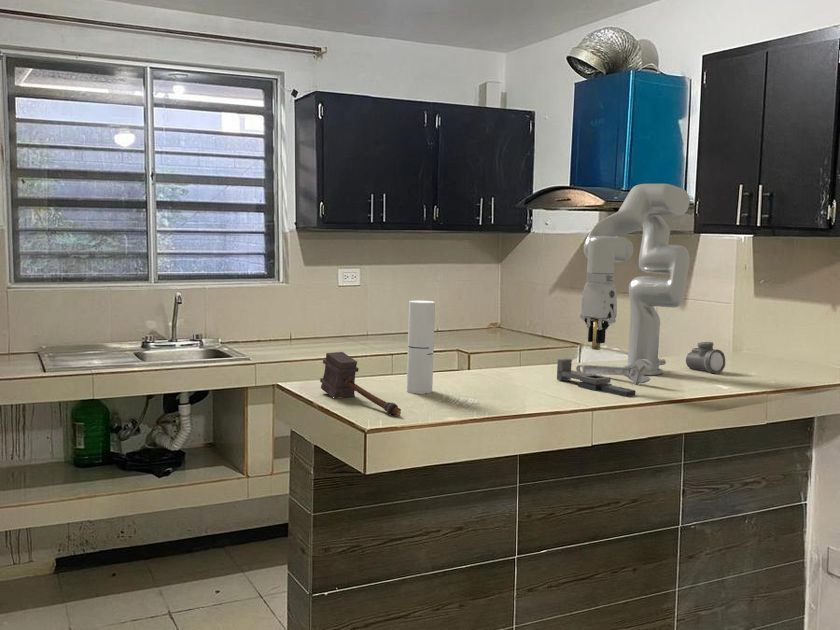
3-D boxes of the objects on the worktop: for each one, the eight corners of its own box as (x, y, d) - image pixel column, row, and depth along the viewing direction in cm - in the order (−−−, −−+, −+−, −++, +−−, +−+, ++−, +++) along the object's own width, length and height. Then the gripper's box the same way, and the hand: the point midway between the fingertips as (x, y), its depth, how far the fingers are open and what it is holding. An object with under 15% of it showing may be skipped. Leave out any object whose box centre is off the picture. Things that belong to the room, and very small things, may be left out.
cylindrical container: (402, 389, 225) (405, 300, 222) (426, 388, 228) (428, 300, 225) (412, 394, 218) (415, 303, 216) (436, 393, 221) (439, 302, 218)
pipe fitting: (728, 371, 267) (725, 341, 267) (711, 375, 264) (708, 344, 263) (699, 370, 278) (697, 340, 277) (683, 373, 274) (680, 343, 274)
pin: (595, 348, 236) (597, 318, 235) (601, 349, 234) (603, 318, 233) (589, 348, 234) (591, 318, 233) (596, 350, 232) (597, 319, 232)
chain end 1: (568, 378, 248) (569, 358, 247) (610, 387, 235) (611, 366, 234) (554, 379, 244) (555, 359, 244) (595, 389, 231) (596, 368, 230)
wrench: (580, 381, 262) (655, 386, 238) (576, 381, 261) (651, 386, 237) (579, 356, 262) (654, 359, 238) (575, 357, 261) (650, 359, 237)
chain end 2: (593, 384, 240) (594, 380, 240) (638, 394, 227) (638, 390, 226) (577, 386, 236) (578, 382, 236) (622, 397, 223) (622, 392, 222)
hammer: (340, 385, 220) (344, 350, 218) (407, 435, 195) (413, 396, 192) (318, 387, 216) (322, 352, 214) (384, 438, 191) (389, 399, 188)
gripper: (630, 281, 228) (626, 345, 230) (587, 277, 241) (584, 338, 243) (612, 281, 223) (608, 346, 225) (570, 277, 236) (567, 339, 238)
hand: (596, 341), depth 234 cm, fingers closed on pin, 2 cm apart
